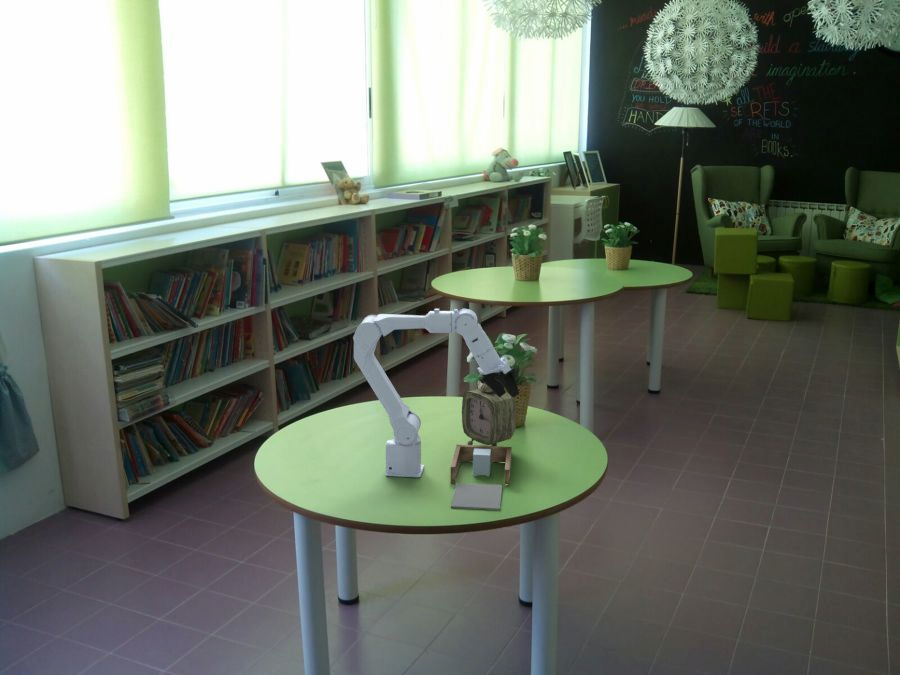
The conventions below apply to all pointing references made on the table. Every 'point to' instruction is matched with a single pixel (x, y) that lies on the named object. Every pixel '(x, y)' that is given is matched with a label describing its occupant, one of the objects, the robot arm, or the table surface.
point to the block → (481, 461)
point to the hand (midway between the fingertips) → (509, 395)
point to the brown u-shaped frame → (467, 455)
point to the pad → (477, 496)
